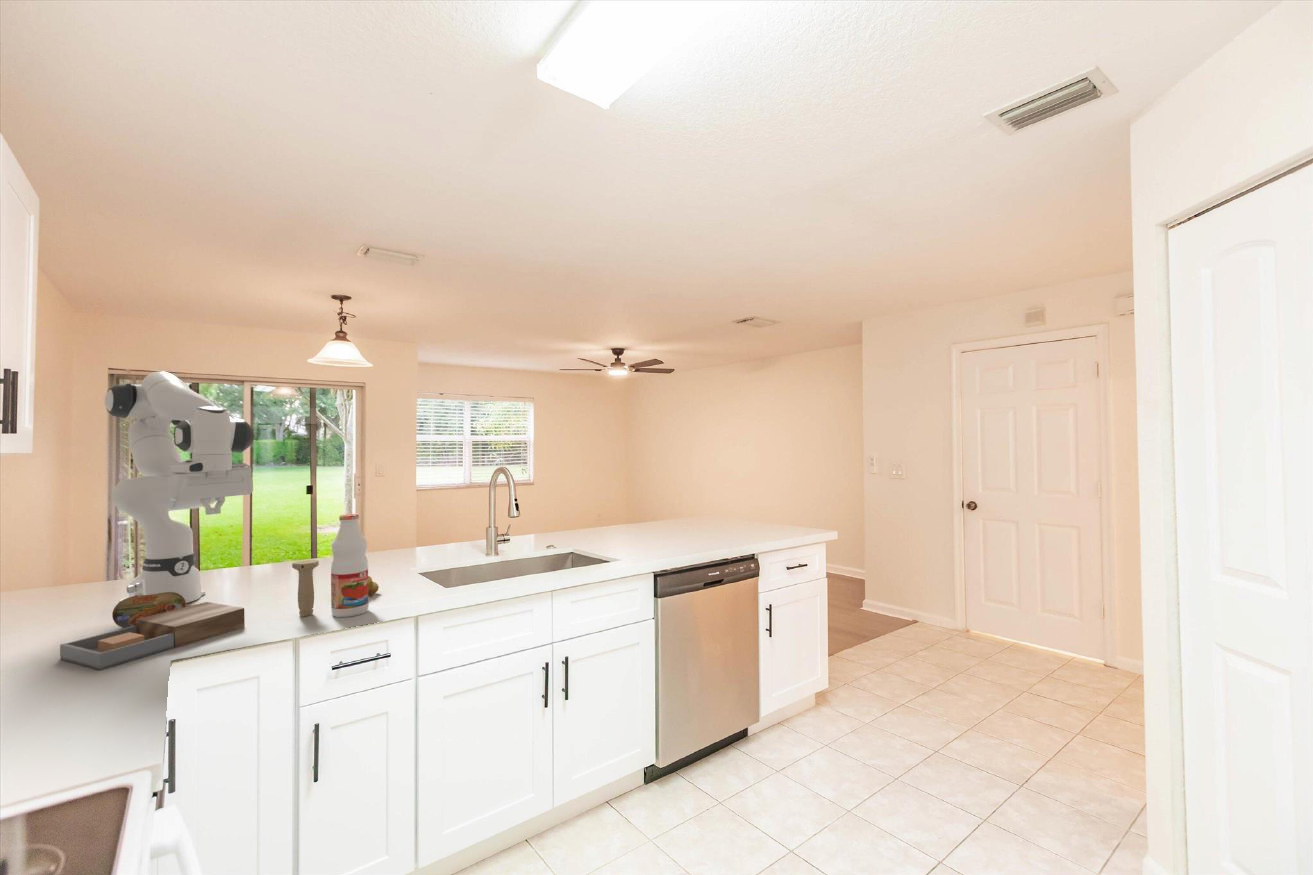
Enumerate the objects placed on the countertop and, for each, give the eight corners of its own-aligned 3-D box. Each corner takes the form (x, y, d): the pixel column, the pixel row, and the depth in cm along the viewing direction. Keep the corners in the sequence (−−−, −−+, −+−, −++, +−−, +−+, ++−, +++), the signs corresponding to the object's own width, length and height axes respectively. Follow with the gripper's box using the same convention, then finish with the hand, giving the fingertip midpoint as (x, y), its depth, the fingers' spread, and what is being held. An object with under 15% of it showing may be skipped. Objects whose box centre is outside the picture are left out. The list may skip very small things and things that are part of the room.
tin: (112, 631, 151) (111, 599, 151) (116, 627, 154) (116, 596, 154) (184, 622, 158) (184, 591, 158) (187, 618, 161) (187, 588, 161)
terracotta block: (129, 632, 139) (130, 644, 139) (98, 640, 133) (98, 653, 134) (144, 635, 137) (144, 647, 137) (112, 643, 131) (112, 656, 131)
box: (60, 659, 131) (60, 644, 131) (135, 639, 144) (134, 625, 144) (99, 670, 125) (99, 654, 125) (173, 648, 138) (173, 633, 138)
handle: (315, 616, 161) (315, 563, 161) (290, 618, 160) (289, 564, 160) (321, 611, 166) (321, 559, 166) (296, 613, 165) (296, 560, 164)
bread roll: (379, 590, 188) (379, 566, 188) (376, 598, 179) (376, 573, 179) (335, 595, 183) (335, 569, 183) (329, 603, 174) (329, 577, 174)
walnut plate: (136, 639, 144) (136, 619, 144) (206, 619, 159) (206, 601, 159) (175, 647, 138) (174, 626, 138) (244, 626, 153) (244, 607, 153)
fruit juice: (352, 606, 171) (351, 512, 171) (376, 609, 167) (374, 513, 167) (323, 615, 162) (322, 516, 162) (348, 619, 159) (346, 517, 158)
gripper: (243, 462, 172) (244, 509, 172) (163, 466, 153) (164, 518, 153) (257, 462, 169) (258, 509, 169) (178, 466, 150) (178, 519, 150)
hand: (213, 514), depth 161 cm, fingers closed
